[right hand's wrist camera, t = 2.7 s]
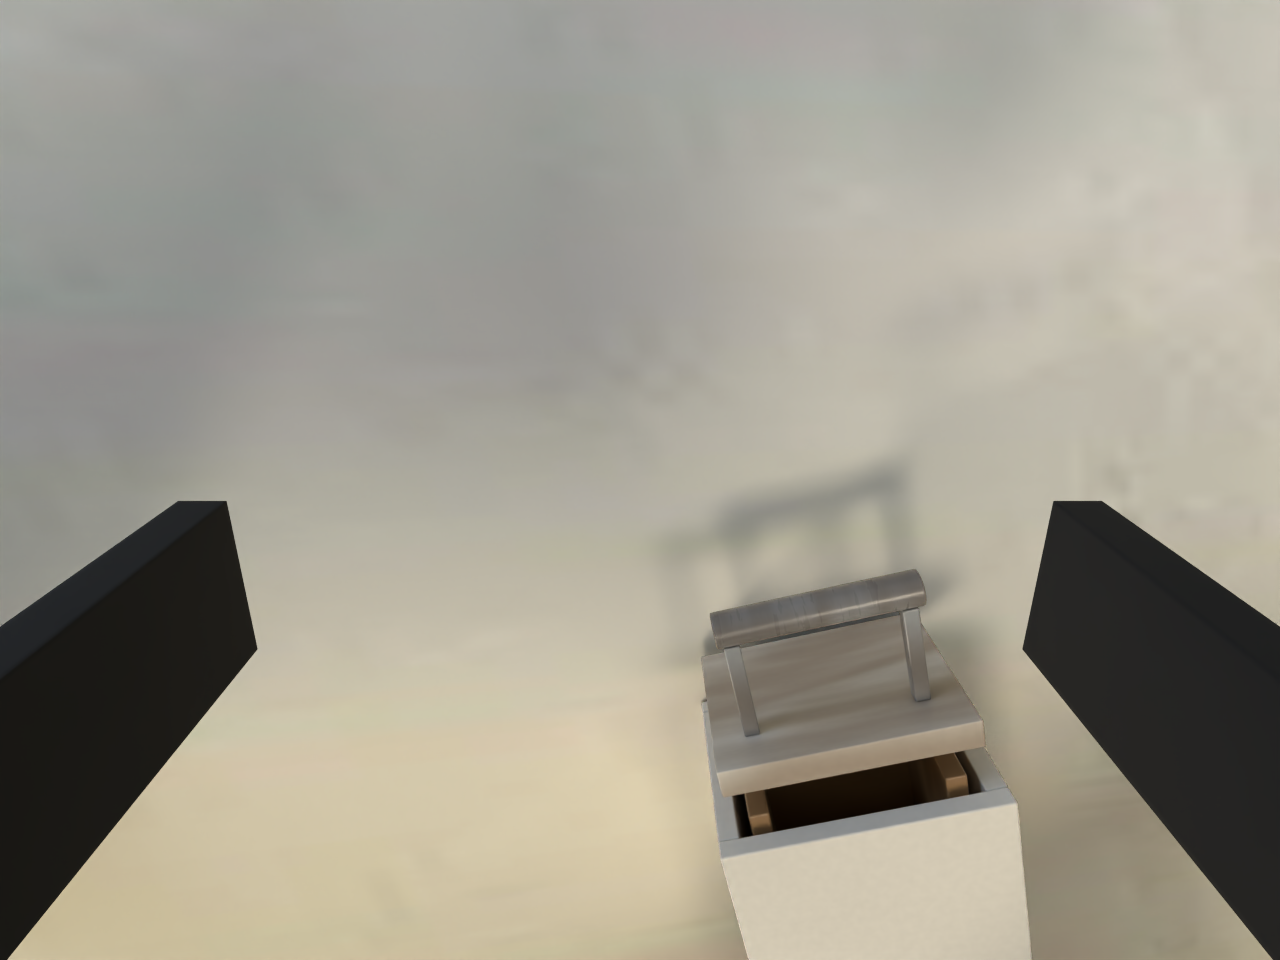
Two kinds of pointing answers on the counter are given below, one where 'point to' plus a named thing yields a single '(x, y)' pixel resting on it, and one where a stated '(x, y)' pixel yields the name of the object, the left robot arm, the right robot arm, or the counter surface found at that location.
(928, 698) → the drawer
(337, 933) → the counter surface
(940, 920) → the cabinet
